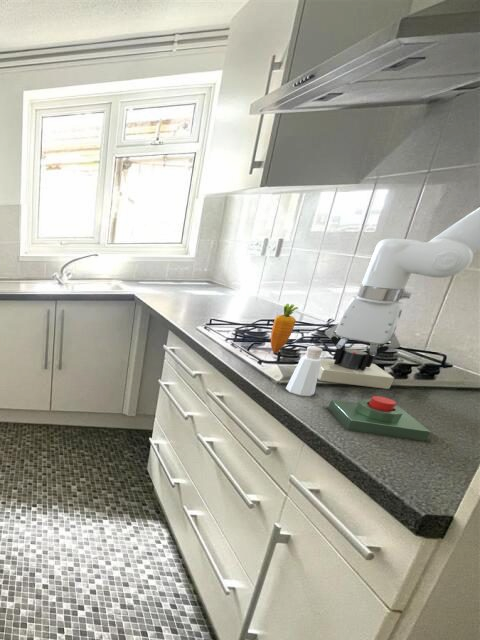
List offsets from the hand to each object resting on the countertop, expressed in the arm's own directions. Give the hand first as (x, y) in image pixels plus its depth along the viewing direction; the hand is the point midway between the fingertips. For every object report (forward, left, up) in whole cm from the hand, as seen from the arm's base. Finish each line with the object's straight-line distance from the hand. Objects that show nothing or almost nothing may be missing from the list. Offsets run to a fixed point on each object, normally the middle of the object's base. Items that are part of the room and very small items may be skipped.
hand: (350, 365), depth 105 cm
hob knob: (0, 0, 0) cm, 0 cm away
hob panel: (0, 0, -3) cm, 3 cm away
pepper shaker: (+14, +15, -4) cm, 21 cm away
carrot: (+12, -15, -4) cm, 20 cm away
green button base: (+5, +28, -3) cm, 29 cm away
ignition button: (+5, +28, 0) cm, 28 cm away
